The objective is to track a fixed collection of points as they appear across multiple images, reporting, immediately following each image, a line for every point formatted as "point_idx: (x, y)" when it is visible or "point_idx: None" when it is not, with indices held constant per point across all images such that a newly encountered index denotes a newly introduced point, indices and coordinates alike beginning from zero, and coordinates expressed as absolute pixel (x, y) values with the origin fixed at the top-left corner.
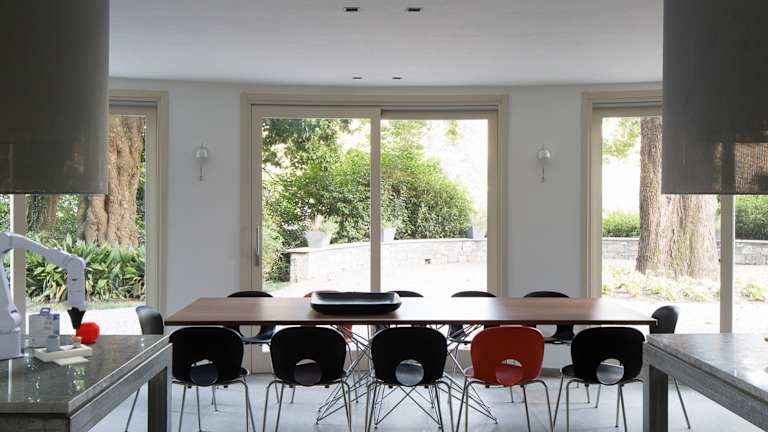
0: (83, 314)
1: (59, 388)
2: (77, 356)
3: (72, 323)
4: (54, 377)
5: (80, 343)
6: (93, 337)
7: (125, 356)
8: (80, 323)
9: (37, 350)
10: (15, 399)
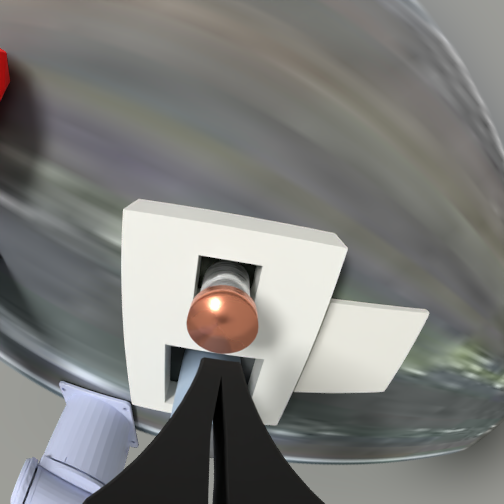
0: (310, 495)
1: (494, 407)
2: (327, 314)
3: (214, 445)
4: (450, 410)
5: (243, 286)
6: (1, 74)
7: (469, 148)
8: (250, 405)
9: (165, 410)
10: (467, 445)
